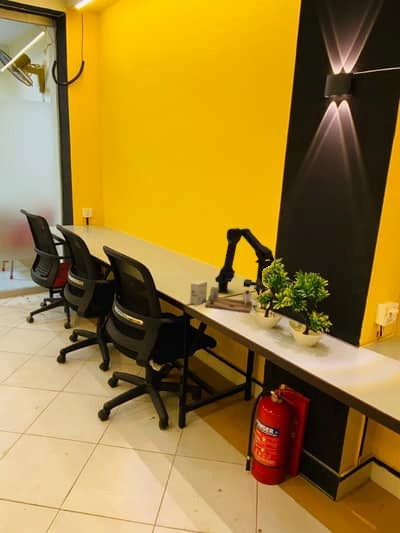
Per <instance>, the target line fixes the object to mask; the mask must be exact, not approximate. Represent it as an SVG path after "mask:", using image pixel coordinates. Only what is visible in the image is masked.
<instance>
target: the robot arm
mask: <svg viewBox="0 0 400 533" xmlns="http://www.w3.org/2000/svg"><path fill="white" fill-rule="evenodd" d="M242 237H243V238H244V240H245V241H246V242H247V243H248V244H249V245H250V246H251V248H252V249H253V250H254V253H255V254H254V255H255V256H256V257H257V260H255V263H256V264H258V266H257V274H256V279H255V281H252V279H248V278H246V279H244V280H243V287H245V288H250V287H251V286H254V287H253V289H254V290H255V291H256V295H257V296H258V295H259V294H260V295H261V293H263V292H264V293H265V292H268V291H269V290H268V289H269V288H267V287H265V286H264V285H263V283H262V271H263V269H264V268H266V267H268V266H270V265H271V263H272V262H273V261H274V260H275V261H276V259H275V258H274V254H273V251H272V250H271V249H270V248H269V247H267V246H266V245H263V243H261V242H260V241H259V240H258V238H257V237H256V236H255V235H254V233H253V232H251V229H250V228H248V227H247V228H239V227H235V228H234V227H233V228H229V229H227V231H226V240H227V247H226V253H225V257H224V263H223V266H222V267H221V268H220V271H219V273H218V275H217V276H215V277H214V279H215V282H216V283H217V286H218V287H217V288H219V293H220V294H228V293H229V283H231V282H232V280H233V279H234V278H235V273H236V270H234V268H233V266H234V265H233V264H234V260H235V255H236V250H237V245H238V243H239V242H240V241H241V238H242Z"/></svg>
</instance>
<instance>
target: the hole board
mask: <svg viewBox="0 0 400 533" xmlns="http://www.w3.org/2000/svg"><path fill="white" fill-rule="evenodd" d="M204 304H205V305H204V308H208V309H217V310H222V311H223V310H224V311H228V312H236V313H245V314H250V313H251V310H252V306H253V301H251V300H250V302H246V307H244V306H245V302H243V299H237V298H229V297H223V296H221V297H220V296H218V298H213V303H211V298H210V295H208V299H207V300H206V302H205V303H204Z"/></svg>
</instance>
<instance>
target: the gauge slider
mask: <svg viewBox="0 0 400 533" xmlns="http://www.w3.org/2000/svg"><path fill="white" fill-rule="evenodd" d="M251 297H252V291H250V290H249V289H248V290H244V291H243V294H242V300H243V302H245V306H244V307H246V302H250V301H251Z"/></svg>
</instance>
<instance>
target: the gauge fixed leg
mask: <svg viewBox="0 0 400 533" xmlns="http://www.w3.org/2000/svg"><path fill="white" fill-rule="evenodd" d="M209 296H210V298H211V303H213V298H218V297H219V288H218V287H216V286H211V287H210V293H209Z"/></svg>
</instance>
